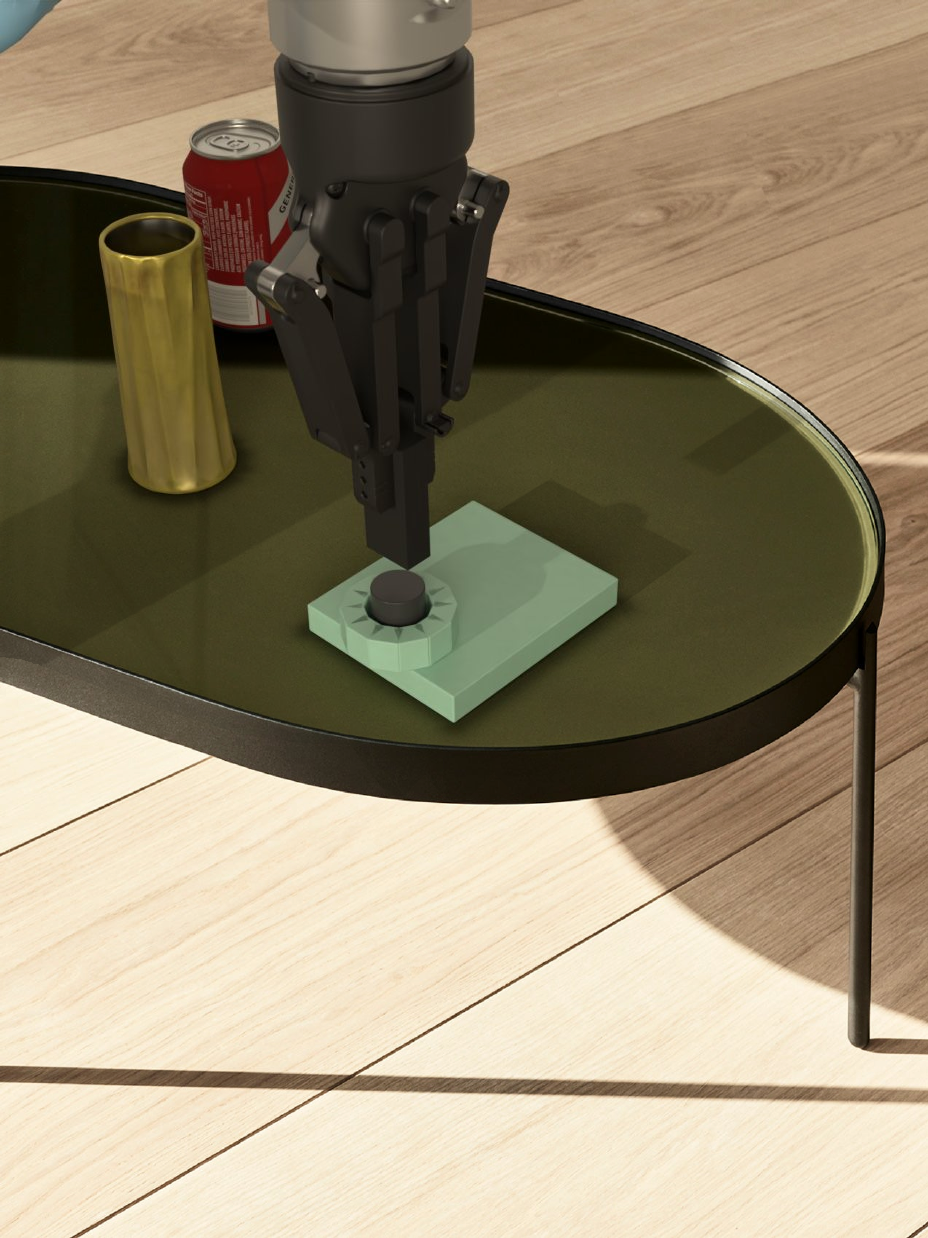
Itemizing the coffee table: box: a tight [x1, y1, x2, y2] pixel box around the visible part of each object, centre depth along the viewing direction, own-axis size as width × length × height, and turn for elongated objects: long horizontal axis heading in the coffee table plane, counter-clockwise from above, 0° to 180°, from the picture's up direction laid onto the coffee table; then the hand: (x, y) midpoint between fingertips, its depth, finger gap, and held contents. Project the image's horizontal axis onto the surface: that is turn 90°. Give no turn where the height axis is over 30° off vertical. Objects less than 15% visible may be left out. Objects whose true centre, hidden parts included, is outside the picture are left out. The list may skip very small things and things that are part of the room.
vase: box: [98, 211, 237, 495], centre depth 90 cm, size 6×6×14 cm
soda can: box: [181, 117, 295, 334], centre depth 104 cm, size 7×7×12 cm
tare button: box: [370, 570, 426, 628], centre depth 79 cm, size 3×3×2 cm
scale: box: [307, 500, 619, 723], centre depth 83 cm, size 13×10×4 cm
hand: (398, 550), depth 78 cm, fingers closed
